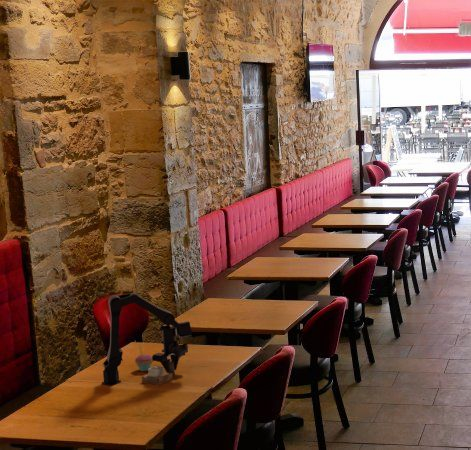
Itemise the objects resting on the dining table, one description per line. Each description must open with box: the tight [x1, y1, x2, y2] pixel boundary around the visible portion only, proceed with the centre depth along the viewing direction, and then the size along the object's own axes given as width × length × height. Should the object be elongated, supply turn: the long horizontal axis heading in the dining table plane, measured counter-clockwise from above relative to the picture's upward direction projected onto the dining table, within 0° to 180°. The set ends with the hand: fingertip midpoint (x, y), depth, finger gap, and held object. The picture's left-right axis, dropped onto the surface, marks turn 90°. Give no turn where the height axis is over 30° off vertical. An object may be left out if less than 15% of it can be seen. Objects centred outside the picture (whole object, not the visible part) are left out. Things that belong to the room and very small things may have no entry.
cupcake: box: [134, 345, 154, 372], centre depth 410 cm, size 9×8×12 cm
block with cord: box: [147, 360, 176, 379], centre depth 396 cm, size 14×5×6 cm, turn 142°
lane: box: [141, 373, 174, 386], centre depth 393 cm, size 10×9×2 cm
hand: (171, 371), depth 400 cm, fingers open, 5 cm apart
